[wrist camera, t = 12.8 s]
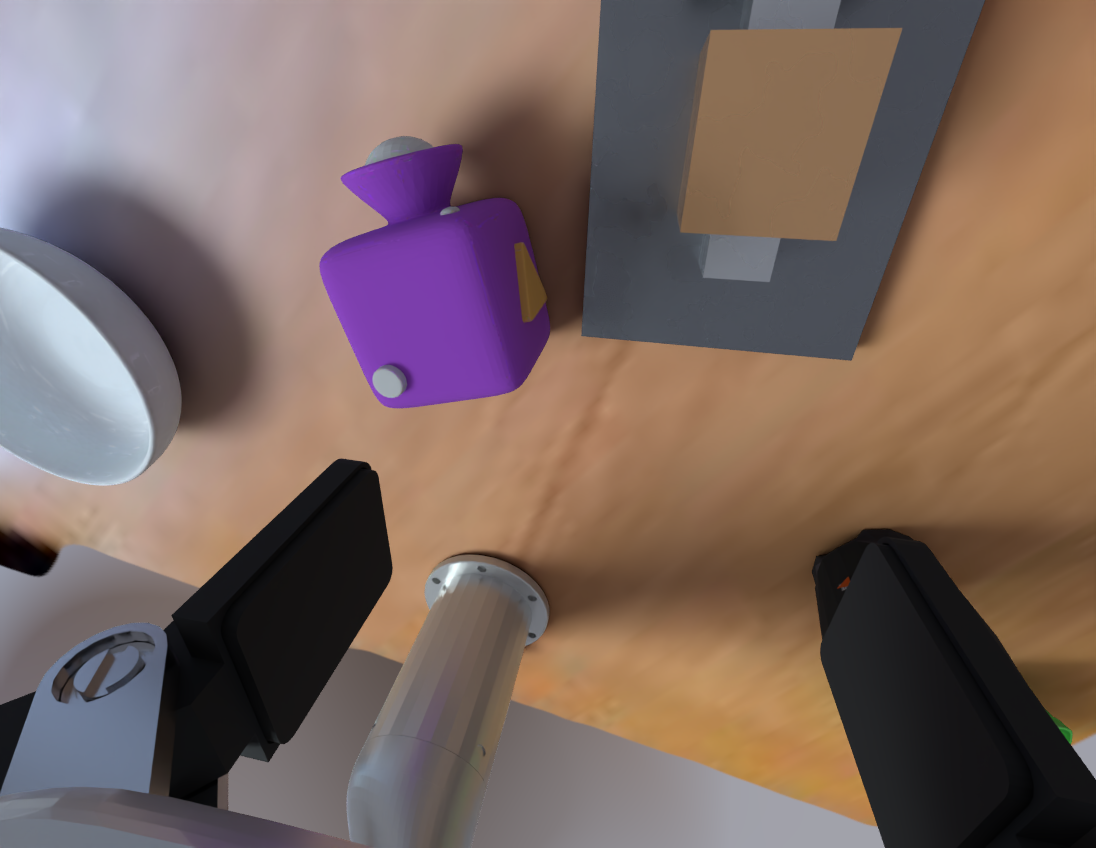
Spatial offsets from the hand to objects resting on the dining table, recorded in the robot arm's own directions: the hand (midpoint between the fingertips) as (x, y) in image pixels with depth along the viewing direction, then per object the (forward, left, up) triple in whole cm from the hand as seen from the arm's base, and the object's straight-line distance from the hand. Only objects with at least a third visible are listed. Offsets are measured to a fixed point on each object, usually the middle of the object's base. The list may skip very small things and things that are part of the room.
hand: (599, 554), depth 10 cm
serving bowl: (-9, +44, -24) cm, 51 cm away
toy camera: (0, +11, -24) cm, 27 cm away
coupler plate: (+7, -5, -24) cm, 25 cm away
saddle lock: (+7, -5, -22) cm, 24 cm away
